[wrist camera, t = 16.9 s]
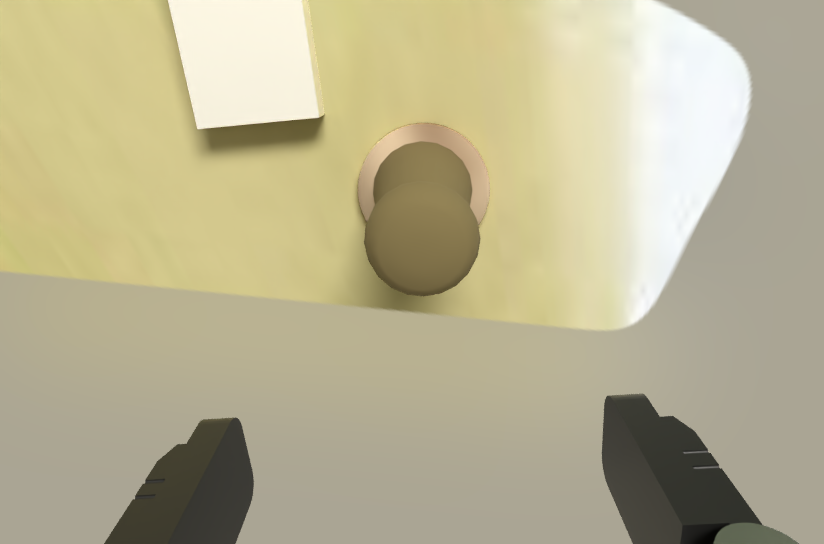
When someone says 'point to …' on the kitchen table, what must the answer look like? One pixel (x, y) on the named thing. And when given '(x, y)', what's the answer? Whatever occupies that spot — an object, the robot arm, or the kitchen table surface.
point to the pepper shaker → (422, 220)
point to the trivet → (434, 135)
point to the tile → (248, 60)
